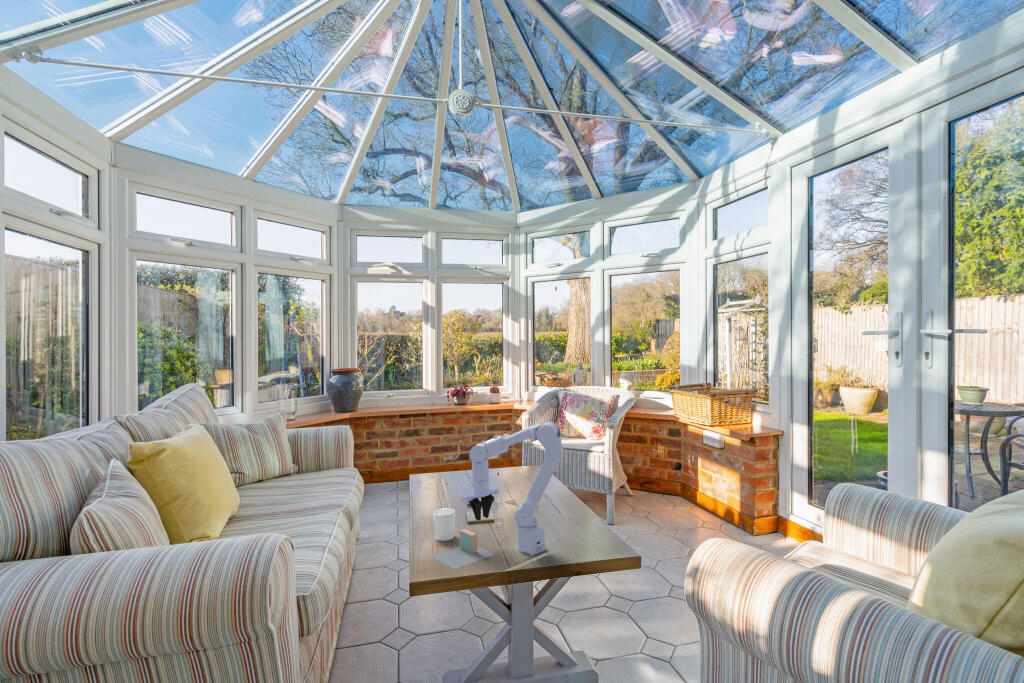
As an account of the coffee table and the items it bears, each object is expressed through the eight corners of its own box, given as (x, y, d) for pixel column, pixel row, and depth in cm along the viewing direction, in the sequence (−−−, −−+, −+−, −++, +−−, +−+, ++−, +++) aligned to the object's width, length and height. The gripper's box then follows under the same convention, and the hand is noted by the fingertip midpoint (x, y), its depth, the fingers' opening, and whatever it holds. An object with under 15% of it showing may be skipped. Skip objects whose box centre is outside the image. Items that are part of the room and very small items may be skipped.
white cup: (440, 545, 173) (439, 516, 173) (430, 538, 179) (429, 511, 179) (459, 539, 177) (458, 511, 178) (449, 533, 184) (448, 506, 184)
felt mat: (494, 556, 162) (494, 554, 162) (454, 572, 151) (454, 569, 151) (469, 545, 172) (469, 542, 172) (430, 558, 161) (430, 556, 161)
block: (477, 552, 164) (476, 534, 164) (472, 554, 162) (471, 535, 162) (465, 546, 169) (464, 528, 169) (460, 548, 168) (459, 530, 168)
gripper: (489, 473, 178) (490, 510, 178) (456, 481, 168) (458, 521, 168) (502, 476, 173) (503, 515, 172) (469, 484, 163) (470, 526, 163)
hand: (481, 518), depth 170 cm, fingers open, 3 cm apart
